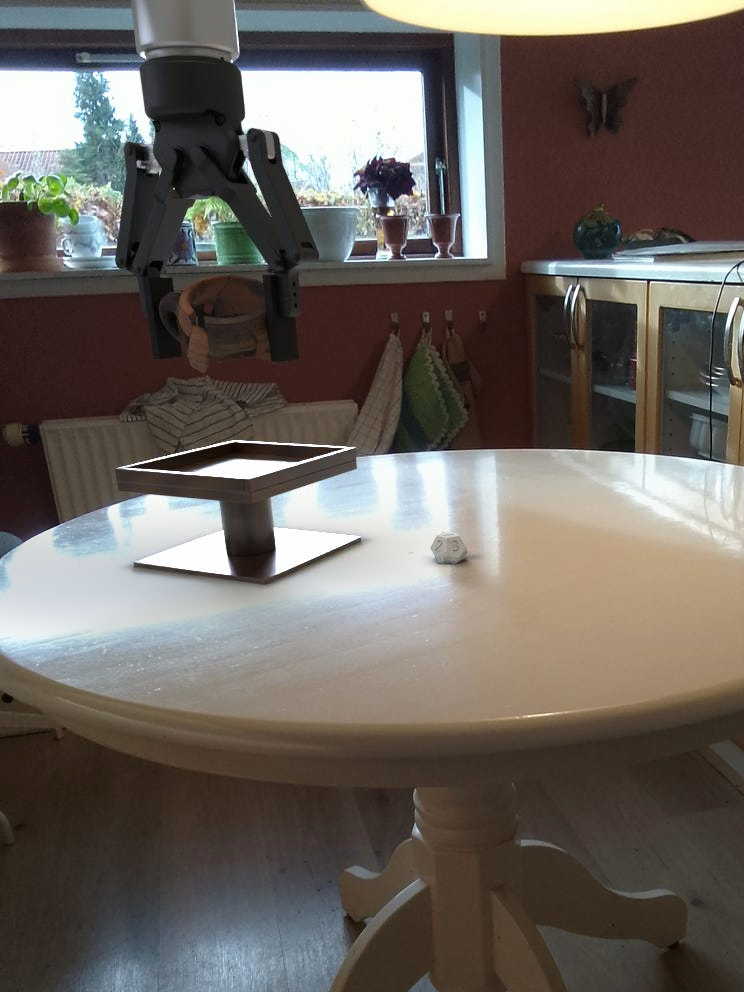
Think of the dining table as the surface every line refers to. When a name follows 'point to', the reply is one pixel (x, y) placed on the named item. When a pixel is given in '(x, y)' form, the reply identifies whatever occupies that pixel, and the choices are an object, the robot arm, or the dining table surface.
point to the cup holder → (242, 506)
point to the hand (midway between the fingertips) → (224, 359)
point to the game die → (448, 548)
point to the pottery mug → (218, 320)
